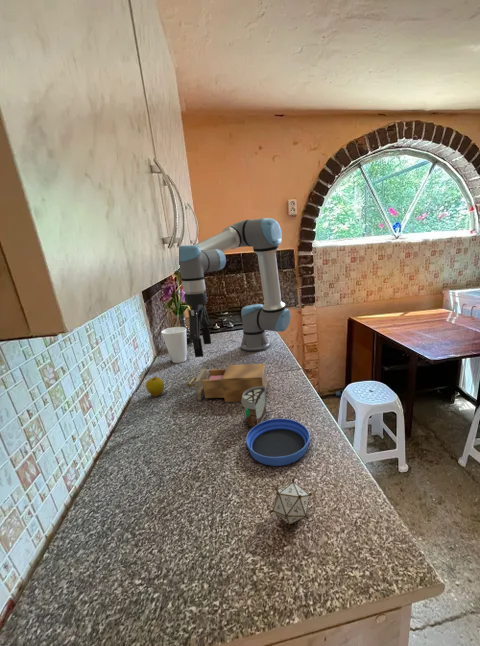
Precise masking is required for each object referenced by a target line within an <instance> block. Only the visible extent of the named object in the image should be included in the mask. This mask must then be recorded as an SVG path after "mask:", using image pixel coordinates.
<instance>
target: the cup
mask: <svg viewBox="0 0 480 646" xmlns="http://www.w3.org/2000/svg"><path fill="white" fill-rule="evenodd" d="M187 330H188V329H187V328H186V327H184V326H173V327H168V328H165V329H162V330H161V335H162V339H163V341H164V344H165V346H166V349H167V352H168V355H169V358H171V359H170V360H171V361H172V363H174V364H180V363H183V362H186V361H187V355H188V346H187V345H188V342H187V341H188V340H187V339H188V338H187Z"/></svg>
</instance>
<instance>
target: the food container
mask: <svg viewBox="0 0 480 646" xmlns="http://www.w3.org/2000/svg"><path fill="white" fill-rule="evenodd" d="M265 391H266V392H267V388H266V389H265V386H257V387H253V388H250V389H248V390H246V391H245V392H244V393H243V395H242V400H241V401H240V403H241V405H242V406H243V407H244V413H245V417H246V422H247V425H248V426H249V427H250V428H251V429H252V428H253V427H255V426H256V425H258V424H259V423H261V422H264V419H265V417H266V415H267V402H266V401H267V399H266V392H265Z"/></svg>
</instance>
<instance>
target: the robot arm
mask: <svg viewBox="0 0 480 646" xmlns="http://www.w3.org/2000/svg"><path fill="white" fill-rule="evenodd" d="M282 239H283V232H282V228H281V226H280V223H278V221H277V220H276V219H274V218H271V217H269V218H268V217H263V218H255V219H254V218H253V219H243V220H241V221H238V222H235V223H233V224H230V225H229V226H226V227H225V228H224V229H222V231H221V232H219V233H217V234H215V235H213V236H211V237H208V238H205V239H204V240H202V241H200V242H198V243H195V244H189V245H179V246H180V247H179V246H178V247H179V265H180V268H179V269H178V270H177V271H176V272H179V273H180V280H181V283H180V286H181V287H182V291H183V293H184V294H183V296H184V297H183V298H184V304H185V305H186V306H190V308H191V309H189V310H188V317H189V318H188V319H189V321H188V322H189V341H192V345H193V351H194V352H193V353H194V357H195V358H203V357H204V350H203V345H211V344H212V339H211V332H210V328H211V327H212V324H211V322H210V318H209V315H208V311H207V307H206V304H207V303H208V296H207V295H208V294H207V292H206V291H207V287H206V281H205V273H210V272H218V271H221V270H224V268H225V267H226V264H227V258H226V254H225V253H224V252H227V251H229V250H236V249H237V248H245V247H250V248H251V247H252V251H253V253H254V254H256V256H257V262H258V269H259V276H260V282H261V289H262V296H263V302H264V304H262V303H255V304H250V305H246V306H243V307H242V308H241V311H240V312H241V315H240V317H241V324H242V332H243V334H242V339H241V344H240V346H241V349H242V350H243V351H246V352H260V351H263V350H266V349H268V348H269V347H270V341H269V339H268V337H267V334H266V331H268V332H269V331H270V332H276V333H277V332H285V331H287V329H288V328H289V326H290V323H291V317H292V316H291V315H292V314H291V311H290V309H288V308H286V303H285V302H283V301H282V294H281V285H280V278H279V277H280V276H279V269H278V261H277V251H278V250H279V246H280V245H281V244H282ZM201 335H202V338H201ZM202 340H203V341H202ZM202 342H203V343H202Z"/></svg>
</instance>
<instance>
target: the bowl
mask: <svg viewBox="0 0 480 646" xmlns="http://www.w3.org/2000/svg"><path fill="white" fill-rule="evenodd" d="M245 441H246V447H247V449H248V451H249V454H250V455H251V457H252V458H253V459H254V460H256V461H257V462H259V463H260V464H264V465H266V466H273V467H279V466H280V467H281V466H286V465H290V464H294V463H295V462H297V461H298V460H300V459H301V458H302V457H304V456H305V454H306V452H307V451H308V448H309V445H310V441H311V436H310V432H309V430H308V428H307V426H305V425H303V424H302V423H301V422H299V421H296V420H294V419H290V418H272V419H271V418H270V419H267V420H263V421H262V422H261V423H259V424H258V425H256V426H255V427H253V428H252V427H251V429H250V430H249V431H248V433H247V435H246V440H245Z"/></svg>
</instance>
